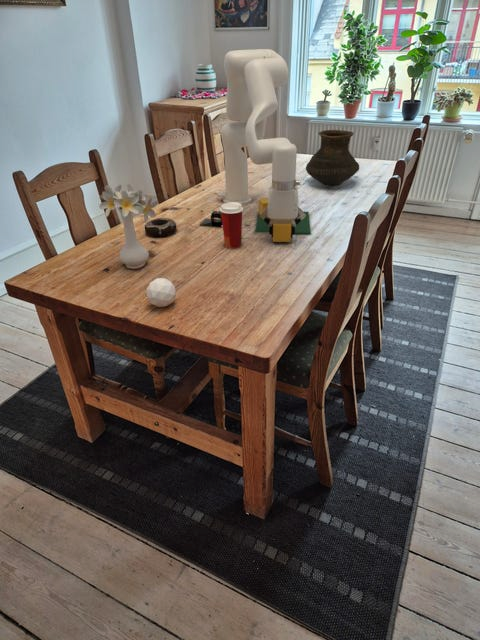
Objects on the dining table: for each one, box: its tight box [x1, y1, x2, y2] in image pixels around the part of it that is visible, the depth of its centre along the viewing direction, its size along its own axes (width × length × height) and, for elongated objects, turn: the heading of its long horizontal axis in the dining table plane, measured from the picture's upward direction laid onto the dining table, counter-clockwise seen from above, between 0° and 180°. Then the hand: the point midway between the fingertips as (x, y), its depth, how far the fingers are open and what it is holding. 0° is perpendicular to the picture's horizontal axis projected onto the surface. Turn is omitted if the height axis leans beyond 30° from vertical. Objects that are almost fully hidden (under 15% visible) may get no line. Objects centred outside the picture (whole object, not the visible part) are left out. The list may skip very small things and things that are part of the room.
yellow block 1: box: [257, 197, 268, 217], centre depth 173 cm, size 6×6×6 cm
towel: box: [254, 211, 312, 235], centre depth 168 cm, size 20×22×1 cm
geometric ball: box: [146, 277, 177, 308], centre depth 119 cm, size 8×8×8 cm
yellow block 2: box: [272, 219, 292, 243], centre depth 151 cm, size 6×6×6 cm
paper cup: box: [219, 202, 244, 249], centre depth 149 cm, size 8×8×14 cm
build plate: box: [199, 210, 223, 229], centre depth 169 cm, size 12×7×5 cm, turn 74°
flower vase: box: [98, 183, 159, 270], centre depth 135 cm, size 13×18×25 cm
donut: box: [144, 217, 177, 238], centre depth 163 cm, size 12×12×4 cm
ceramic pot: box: [305, 129, 360, 187], centre depth 202 cm, size 24×24×22 cm
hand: (281, 235), depth 153 cm, fingers closed on yellow block 2, 6 cm apart
